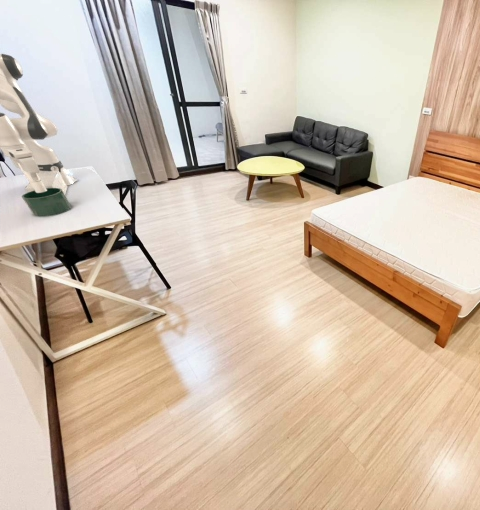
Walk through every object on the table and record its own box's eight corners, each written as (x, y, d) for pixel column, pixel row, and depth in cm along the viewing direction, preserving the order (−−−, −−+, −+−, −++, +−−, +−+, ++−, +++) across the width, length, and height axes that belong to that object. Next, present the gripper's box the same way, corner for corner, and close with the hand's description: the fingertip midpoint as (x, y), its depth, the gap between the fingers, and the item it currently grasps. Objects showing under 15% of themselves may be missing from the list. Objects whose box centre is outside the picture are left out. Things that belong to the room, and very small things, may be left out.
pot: (28, 211, 144) (16, 194, 138) (64, 202, 155) (54, 185, 149) (40, 219, 138) (28, 201, 132) (76, 208, 149) (67, 191, 143)
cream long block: (45, 189, 169) (35, 172, 163) (67, 186, 174) (58, 170, 168) (37, 207, 148) (24, 189, 142) (62, 203, 153) (51, 185, 147)
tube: (40, 193, 138) (21, 163, 130) (33, 192, 139) (14, 163, 130) (49, 190, 142) (31, 161, 133) (42, 189, 142) (24, 160, 134)
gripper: (-1, 148, 130) (17, 176, 138) (15, 155, 122) (33, 184, 130) (16, 146, 135) (33, 173, 143) (33, 152, 127) (50, 181, 135)
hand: (33, 179), depth 136 cm, fingers closed on tube, 4 cm apart
